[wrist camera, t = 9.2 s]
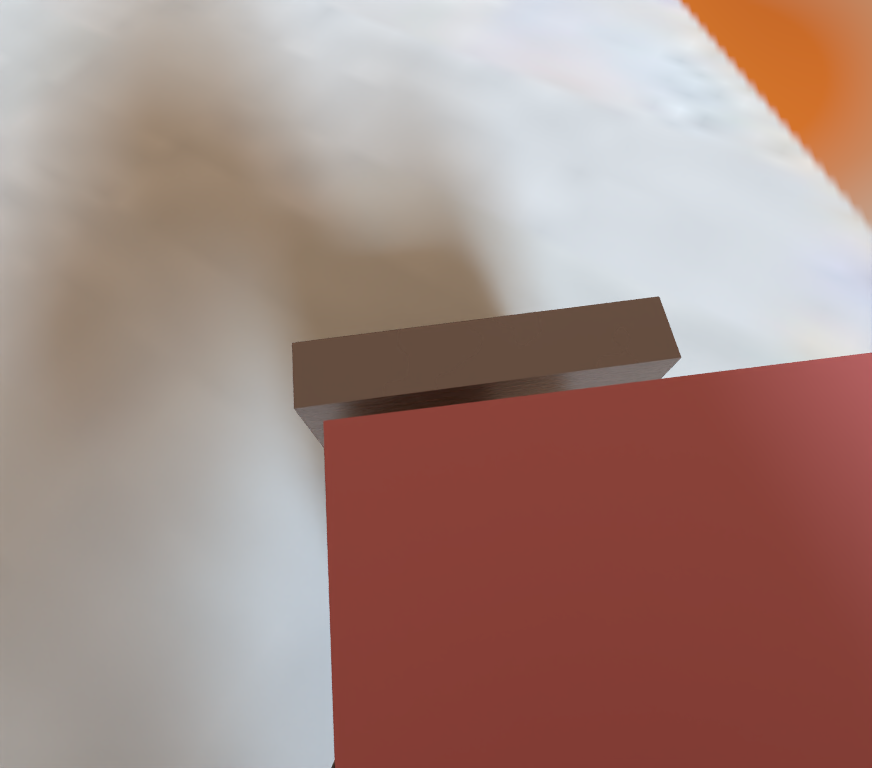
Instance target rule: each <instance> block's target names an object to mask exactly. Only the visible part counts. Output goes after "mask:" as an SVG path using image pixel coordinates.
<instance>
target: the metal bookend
mask: <svg viewBox="0 0 872 768" xmlns="http://www.w3.org/2000/svg"><path fill="white" fill-rule="evenodd" d="M292 353H293V388H294V409H295V410H296V412H297V413H298V414H299V416H300V417H301V418H302V420H303V421H304V422H305V423H306V425H307V426H308V427H309V429H310V430H311V431H312V433H313V434H314V435H315V437H316V438H317V439H318V440H319V442H320V443H321V444H322V446H323V447H324V426H323V421H326V420H334V419H342V418H351V417H359V416H367V415H375V414H383V413H391V412H399V411H407V410H415V409H423V408H431V407H439V406H447V405H455V404H463V403H471V402H479V401H487V400H495V399H503V398H511V397H519V396H527V395H535V394H544V393H552V392H560V391H568V390H576V389H584V388H592V387H600V386H608V385H616V384H624V383H632V382H640V381H648V380H656V379H661V378H662V377H663V376H664V375H665V374H666V373H667V372H668V371H669V370H670V369H671V368H672V367H673V366H674V365H675V364H676V363H677V362H678V360H679V359H680V358H681V355H680V353H679V350H678V347H677V344H676V342H675V339H674V336H673V333H672V331H671V328H670V325H669V322H668V320H667V317H666V314H665V311H664V309H663V306H662V303H661V300H660V298H659V297H651V298H643V299H636V300H628V301H620V302H612V303H604V304H596V305H588V306H580V307H572V308H564V309H557V310H549V311H541V312H533V313H525V314H517V315H509V316H501V317H493V318H485V319H478V320H470V321H462V322H454V323H446V324H438V325H430V326H422V327H414V328H406V329H399V330H391V331H383V332H375V333H367V334H359V335H351V336H343V337H335V338H327V339H320V340H312V341H304V342H296V343H292Z"/></svg>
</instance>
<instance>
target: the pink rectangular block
mask: <svg viewBox="0 0 872 768" xmlns="http://www.w3.org/2000/svg"><path fill="white" fill-rule="evenodd" d="M323 426H324V456H325V485H326V515H327V545H328V575H329V605H330V635H331V665H332V694H333V724H334V754H335V768H872V353H865V354H857V355H849V356H841V357H833V358H825V359H817V360H809V361H801V362H793V363H785V364H777V365H769V366H761V367H753V368H745V369H737V370H729V371H720V372H712V373H704V374H696V375H688V376H680V377H672V378H664V379H656V380H648V381H640V382H632V383H624V384H616V385H608V386H600V387H592V388H584V389H576V390H568V391H560V392H552V393H544V394H535V395H527V396H519V397H511V398H503V399H495V400H487V401H479V402H471V403H463V404H455V405H447V406H439V407H431V408H423V409H415V410H407V411H399V412H391V413H383V414H375V415H367V416H359V417H351V418H342V419H334V420H326V421H323Z"/></svg>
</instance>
